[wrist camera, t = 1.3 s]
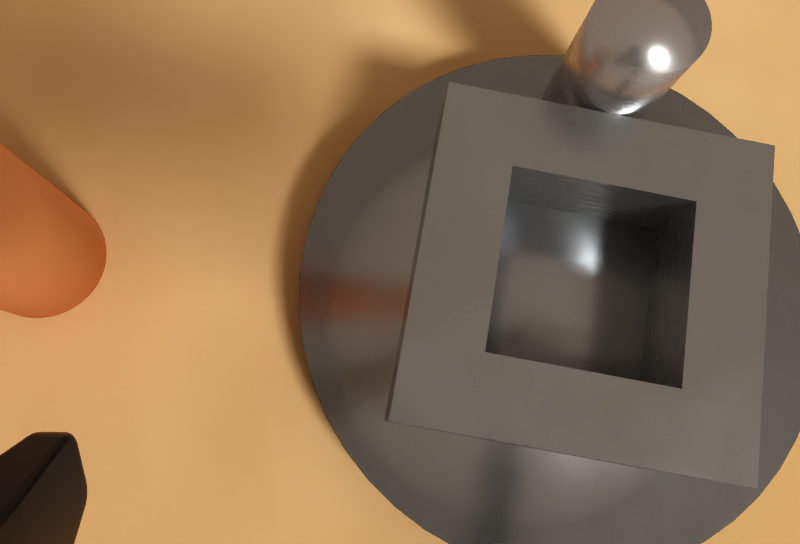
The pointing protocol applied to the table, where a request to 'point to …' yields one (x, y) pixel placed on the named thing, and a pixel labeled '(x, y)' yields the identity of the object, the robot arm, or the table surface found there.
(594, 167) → the grey peg hole base
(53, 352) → the table surface
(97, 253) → the wooden peg
